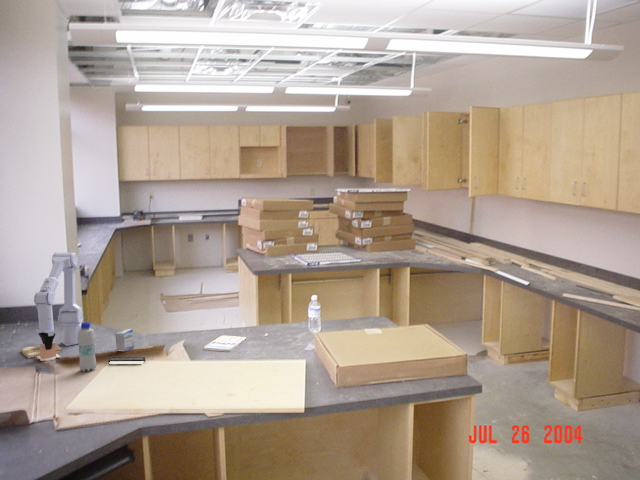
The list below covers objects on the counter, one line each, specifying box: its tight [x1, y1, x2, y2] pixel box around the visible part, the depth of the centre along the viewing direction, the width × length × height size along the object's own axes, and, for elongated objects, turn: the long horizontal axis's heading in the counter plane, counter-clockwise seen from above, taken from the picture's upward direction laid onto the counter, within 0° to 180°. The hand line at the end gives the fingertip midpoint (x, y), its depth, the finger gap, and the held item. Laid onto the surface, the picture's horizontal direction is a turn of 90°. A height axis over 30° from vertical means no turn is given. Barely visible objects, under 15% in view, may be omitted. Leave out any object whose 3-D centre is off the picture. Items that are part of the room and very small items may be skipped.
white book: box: [203, 334, 247, 352], centre depth 263 cm, size 13×20×2 cm, turn 164°
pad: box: [38, 353, 61, 362], centre depth 247 cm, size 8×8×1 cm
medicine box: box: [115, 328, 135, 352], centre depth 257 cm, size 8×4×9 cm, turn 168°
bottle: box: [77, 321, 97, 372], centre depth 229 cm, size 7×7×20 cm
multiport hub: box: [108, 356, 146, 363], centre depth 239 cm, size 4×14×2 cm, turn 88°
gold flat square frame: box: [20, 343, 63, 360], centre depth 256 cm, size 14×14×2 cm
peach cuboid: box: [38, 341, 57, 359], centre depth 246 cm, size 6×2×6 cm, turn 130°
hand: (47, 348), depth 246 cm, fingers closed on peach cuboid, 2 cm apart
